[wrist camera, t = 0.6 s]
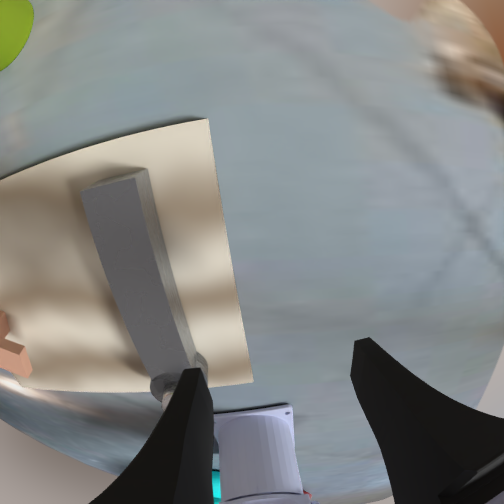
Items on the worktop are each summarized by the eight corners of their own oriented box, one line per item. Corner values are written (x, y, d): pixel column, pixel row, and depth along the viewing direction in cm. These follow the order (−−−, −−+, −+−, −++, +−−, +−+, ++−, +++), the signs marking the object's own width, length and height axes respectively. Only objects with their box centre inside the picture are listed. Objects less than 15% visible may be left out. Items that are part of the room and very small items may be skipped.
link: (213, 380, 22) (213, 422, 18) (164, 385, 22) (158, 425, 18) (156, 166, 15) (136, 182, 11) (91, 182, 15) (57, 202, 11)
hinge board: (252, 373, 23) (253, 382, 23) (25, 380, 23) (22, 387, 22) (208, 118, 15) (207, 118, 14) (-57, 209, 15) (-64, 213, 14)
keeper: (41, 321, 19) (19, 355, 15) (46, 344, 20) (27, 378, 16) (-12, 303, 18) (-36, 331, 14) (-5, 326, 19) (-26, 355, 15)
